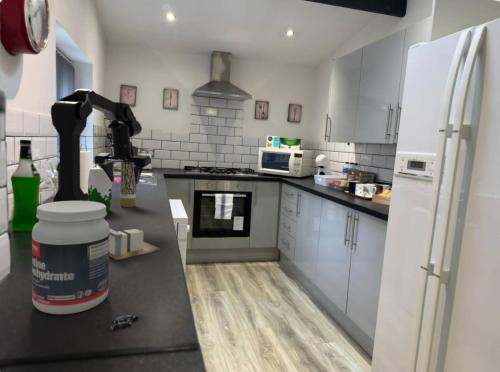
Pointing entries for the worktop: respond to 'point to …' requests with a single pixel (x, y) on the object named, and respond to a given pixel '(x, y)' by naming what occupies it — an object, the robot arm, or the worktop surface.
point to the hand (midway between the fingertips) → (124, 182)
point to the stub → (134, 239)
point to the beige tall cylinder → (127, 185)
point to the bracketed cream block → (117, 243)
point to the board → (146, 249)
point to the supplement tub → (70, 256)
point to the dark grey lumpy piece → (123, 322)
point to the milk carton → (99, 187)
